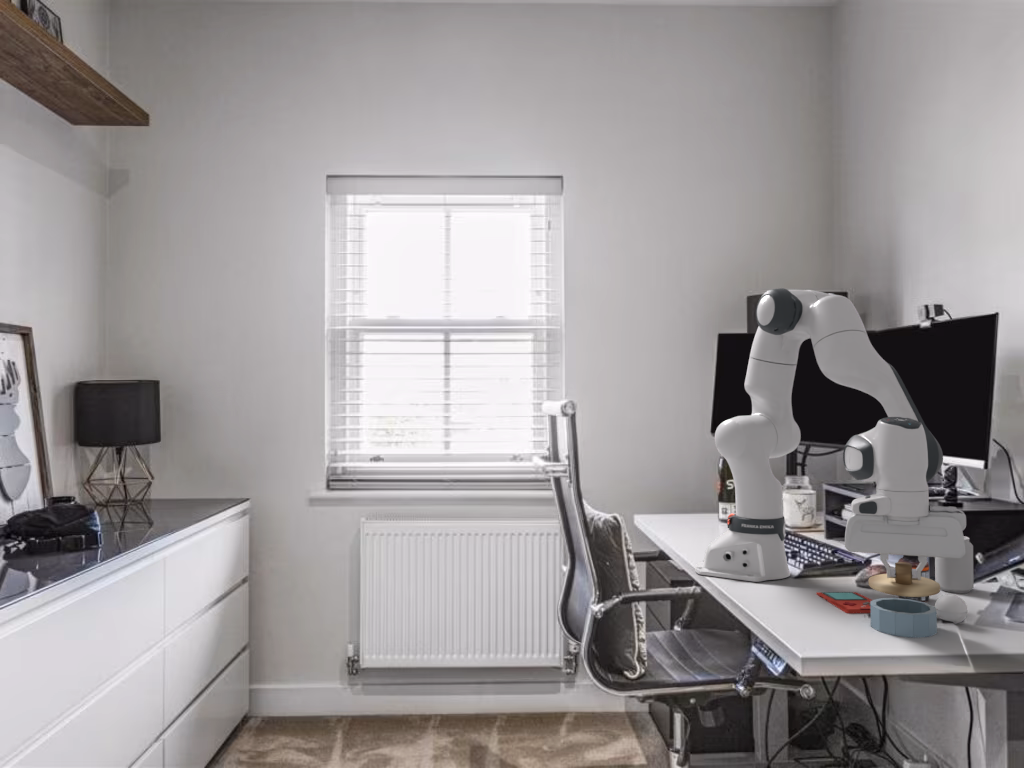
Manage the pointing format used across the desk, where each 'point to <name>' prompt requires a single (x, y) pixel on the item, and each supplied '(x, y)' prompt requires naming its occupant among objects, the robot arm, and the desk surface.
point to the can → (956, 571)
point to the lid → (904, 583)
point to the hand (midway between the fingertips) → (903, 578)
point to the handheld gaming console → (847, 601)
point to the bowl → (903, 617)
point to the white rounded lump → (951, 608)
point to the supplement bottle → (924, 573)
